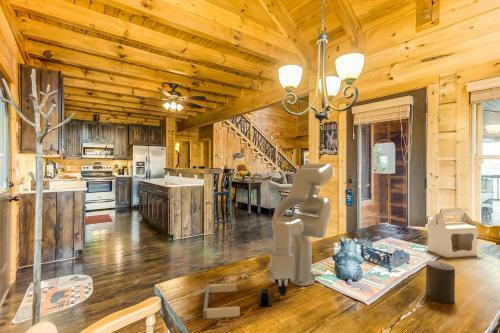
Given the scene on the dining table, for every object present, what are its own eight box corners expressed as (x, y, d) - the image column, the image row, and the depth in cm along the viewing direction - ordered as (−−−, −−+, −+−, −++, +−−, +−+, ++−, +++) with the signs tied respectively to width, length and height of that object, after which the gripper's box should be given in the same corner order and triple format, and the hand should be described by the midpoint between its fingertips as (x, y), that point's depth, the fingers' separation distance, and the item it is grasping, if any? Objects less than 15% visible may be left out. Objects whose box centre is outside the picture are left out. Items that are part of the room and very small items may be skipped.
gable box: (446, 257, 148) (446, 211, 148) (427, 250, 161) (427, 207, 161) (477, 255, 152) (477, 210, 151) (456, 248, 165) (456, 206, 164)
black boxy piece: (274, 310, 96) (274, 299, 96) (255, 310, 96) (255, 299, 96) (271, 293, 109) (271, 283, 109) (255, 293, 109) (255, 283, 109)
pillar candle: (447, 306, 98) (447, 268, 98) (420, 294, 107) (421, 259, 107) (459, 300, 102) (460, 264, 102) (433, 289, 111) (433, 256, 111)
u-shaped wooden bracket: (236, 289, 111) (236, 283, 111) (239, 316, 92) (239, 308, 92) (206, 291, 110) (206, 284, 110) (203, 318, 90) (203, 310, 90)
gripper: (296, 246, 108) (296, 288, 108) (263, 248, 106) (263, 290, 106) (302, 252, 101) (302, 297, 101) (266, 254, 99) (266, 300, 99)
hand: (282, 294), depth 104 cm, fingers closed
